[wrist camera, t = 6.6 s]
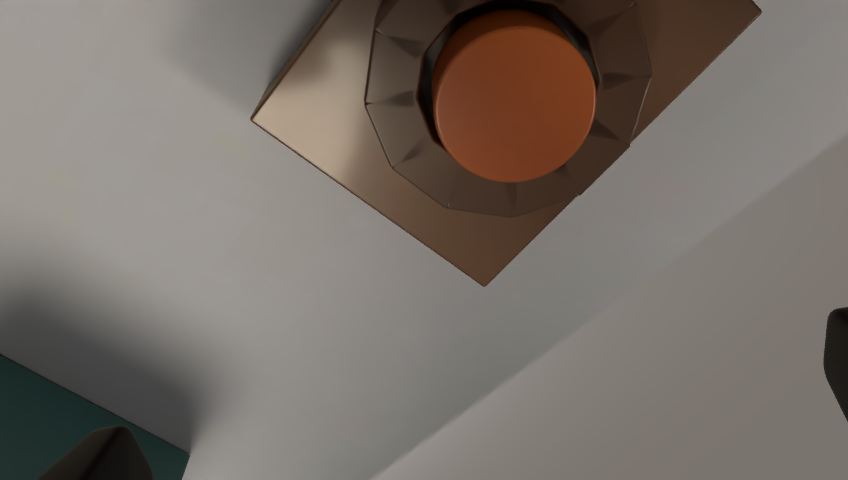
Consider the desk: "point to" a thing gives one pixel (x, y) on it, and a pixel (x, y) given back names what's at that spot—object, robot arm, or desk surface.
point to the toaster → (60, 427)
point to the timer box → (414, 117)
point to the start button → (512, 96)
